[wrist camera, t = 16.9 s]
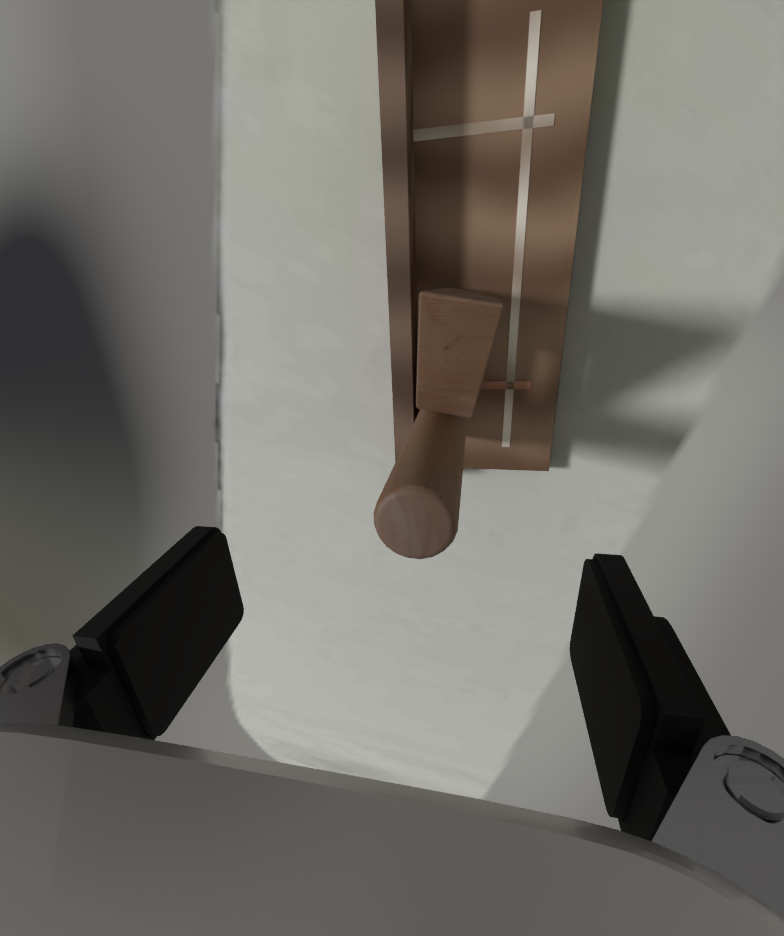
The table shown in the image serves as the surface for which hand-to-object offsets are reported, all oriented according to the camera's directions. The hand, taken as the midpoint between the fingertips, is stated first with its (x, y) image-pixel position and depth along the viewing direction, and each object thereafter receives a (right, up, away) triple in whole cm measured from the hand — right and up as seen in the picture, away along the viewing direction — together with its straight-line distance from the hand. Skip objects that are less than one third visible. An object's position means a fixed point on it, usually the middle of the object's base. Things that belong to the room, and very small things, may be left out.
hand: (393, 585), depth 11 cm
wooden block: (+5, +11, +21) cm, 24 cm away
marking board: (+6, +17, +20) cm, 27 cm away
